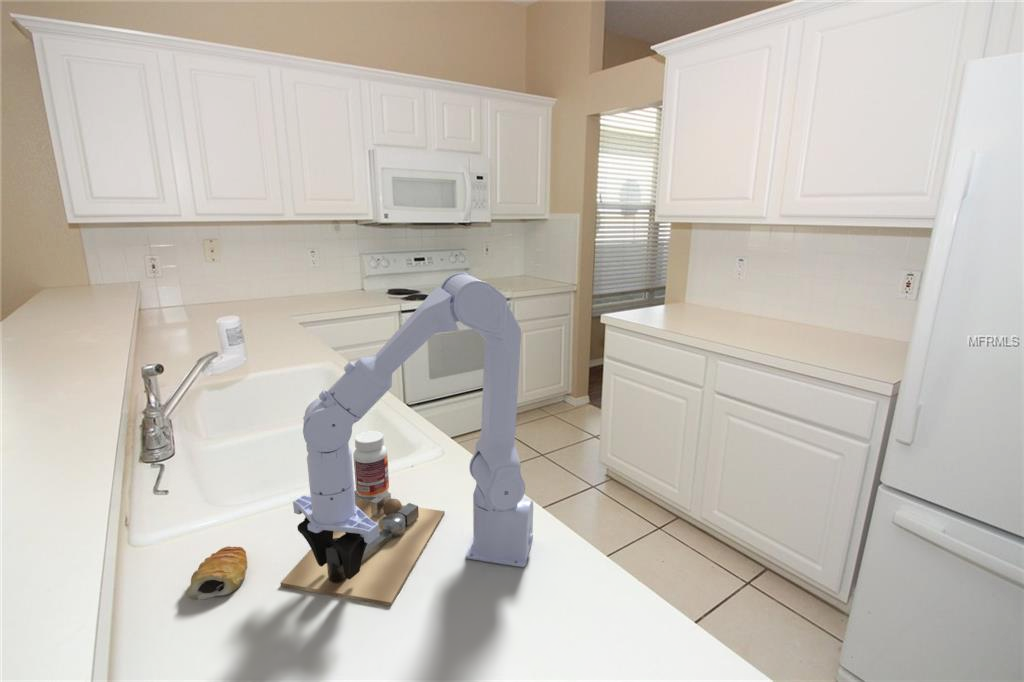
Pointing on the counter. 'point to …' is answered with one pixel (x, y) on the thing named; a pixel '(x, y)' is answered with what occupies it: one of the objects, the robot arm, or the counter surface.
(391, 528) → the lever
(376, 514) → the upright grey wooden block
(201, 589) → the pastry
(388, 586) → the board
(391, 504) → the brown ball
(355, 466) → the pill bottle
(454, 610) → the counter surface
